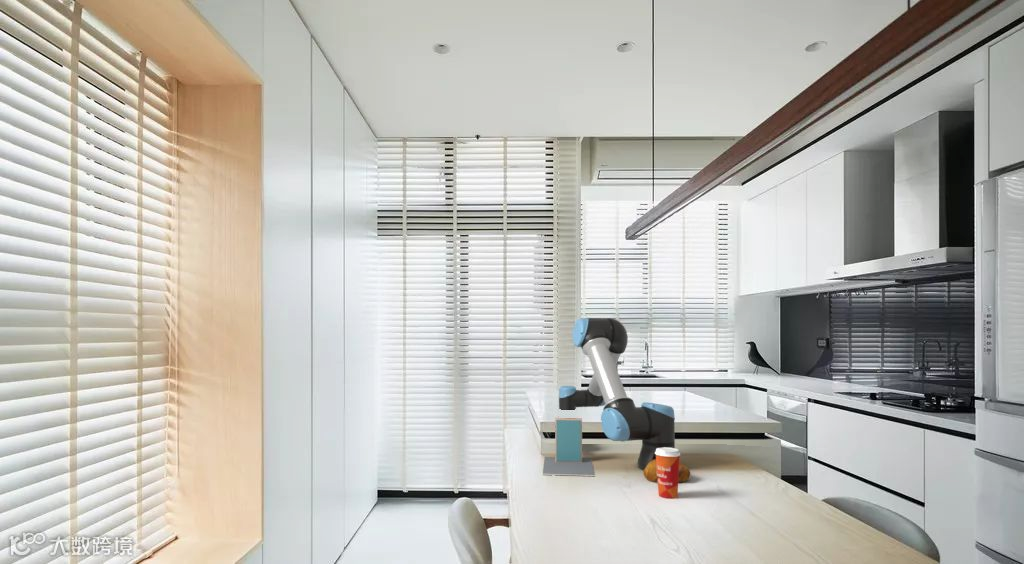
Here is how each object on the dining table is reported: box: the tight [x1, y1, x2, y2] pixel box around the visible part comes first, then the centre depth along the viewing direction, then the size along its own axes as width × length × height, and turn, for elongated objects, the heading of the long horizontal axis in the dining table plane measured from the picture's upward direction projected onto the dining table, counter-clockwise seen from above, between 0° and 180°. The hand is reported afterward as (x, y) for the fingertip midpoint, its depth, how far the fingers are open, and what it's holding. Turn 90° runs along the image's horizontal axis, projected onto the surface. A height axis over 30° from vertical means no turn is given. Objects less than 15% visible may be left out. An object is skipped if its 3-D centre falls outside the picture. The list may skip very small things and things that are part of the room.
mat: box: [542, 456, 596, 478], centre depth 217 cm, size 26×18×1 cm
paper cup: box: [655, 447, 681, 500], centre depth 182 cm, size 8×8×14 cm
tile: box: [554, 417, 583, 463], centre depth 223 cm, size 3×10×16 cm, turn 85°
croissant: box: [643, 459, 691, 483], centre depth 202 cm, size 14×16×8 cm
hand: (568, 435), depth 230 cm, fingers closed
